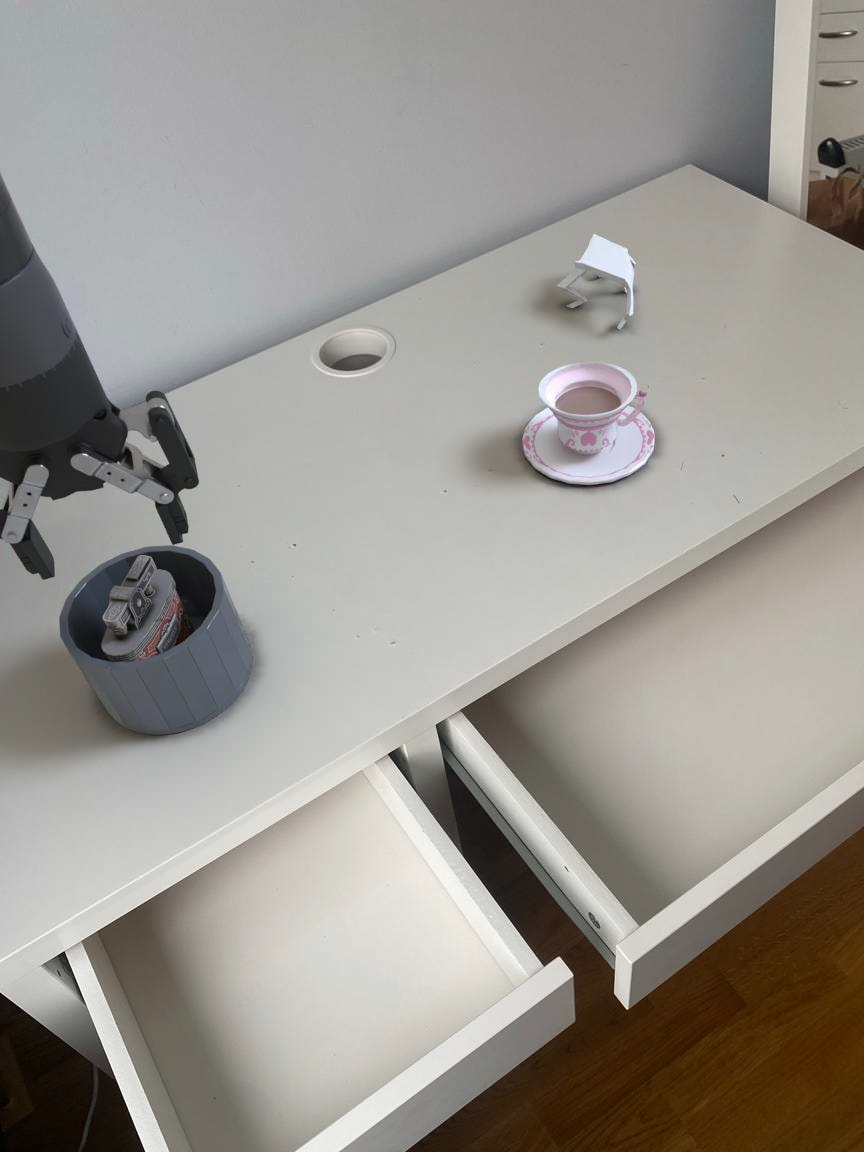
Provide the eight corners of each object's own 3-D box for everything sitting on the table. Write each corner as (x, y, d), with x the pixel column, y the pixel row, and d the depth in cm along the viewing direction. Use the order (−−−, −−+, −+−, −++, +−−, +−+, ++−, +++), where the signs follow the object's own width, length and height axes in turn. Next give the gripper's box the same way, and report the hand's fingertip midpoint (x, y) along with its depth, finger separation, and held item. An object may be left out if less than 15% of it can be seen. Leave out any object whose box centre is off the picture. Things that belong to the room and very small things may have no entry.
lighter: (171, 720, 71) (121, 633, 64) (129, 715, 72) (75, 628, 64) (212, 637, 76) (170, 546, 69) (172, 632, 77) (127, 542, 69)
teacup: (521, 490, 85) (518, 433, 80) (522, 405, 93) (519, 349, 88) (660, 484, 84) (665, 427, 79) (649, 399, 92) (653, 342, 87)
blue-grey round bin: (107, 754, 71) (62, 688, 65) (98, 639, 78) (56, 570, 72) (263, 707, 72) (234, 639, 66) (240, 599, 79) (211, 528, 73)
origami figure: (541, 294, 105) (540, 251, 101) (605, 268, 107) (606, 225, 103) (607, 346, 98) (608, 302, 94) (674, 317, 100) (677, 272, 96)
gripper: (130, 278, 56) (211, 490, 68) (-127, 337, 54) (5, 544, 66) (141, 348, 51) (226, 562, 64) (-140, 415, 49) (5, 622, 62)
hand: (113, 552), depth 65 cm, fingers open, 8 cm apart
